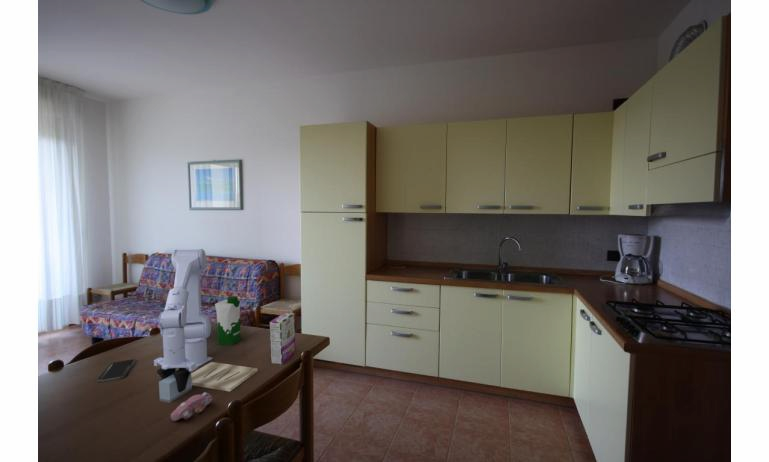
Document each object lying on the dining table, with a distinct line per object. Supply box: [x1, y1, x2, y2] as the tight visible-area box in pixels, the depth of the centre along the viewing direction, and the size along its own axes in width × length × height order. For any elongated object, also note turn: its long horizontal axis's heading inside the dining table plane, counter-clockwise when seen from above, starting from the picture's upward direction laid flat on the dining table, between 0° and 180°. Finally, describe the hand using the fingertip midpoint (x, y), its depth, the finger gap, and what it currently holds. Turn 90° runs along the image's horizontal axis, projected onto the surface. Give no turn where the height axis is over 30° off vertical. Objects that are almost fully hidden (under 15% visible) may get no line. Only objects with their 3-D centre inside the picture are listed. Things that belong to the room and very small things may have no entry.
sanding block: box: [158, 372, 193, 404], centre depth 105 cm, size 4×8×6 cm, turn 165°
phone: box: [97, 358, 137, 383], centre depth 121 cm, size 8×1×15 cm
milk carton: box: [214, 295, 242, 346], centre depth 147 cm, size 9×9×20 cm
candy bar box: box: [269, 312, 297, 365], centre depth 131 cm, size 11×5×16 cm, turn 168°
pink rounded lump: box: [170, 391, 213, 422], centre depth 95 cm, size 10×5×7 cm, turn 148°
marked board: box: [191, 361, 258, 392], centre depth 116 cm, size 20×14×1 cm
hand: (176, 389), depth 105 cm, fingers closed on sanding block, 4 cm apart
